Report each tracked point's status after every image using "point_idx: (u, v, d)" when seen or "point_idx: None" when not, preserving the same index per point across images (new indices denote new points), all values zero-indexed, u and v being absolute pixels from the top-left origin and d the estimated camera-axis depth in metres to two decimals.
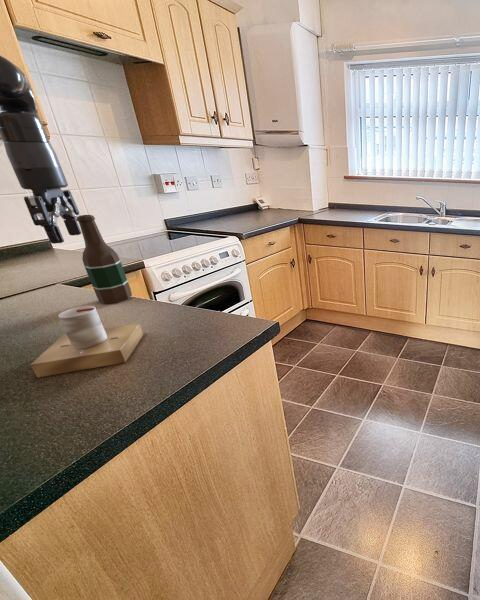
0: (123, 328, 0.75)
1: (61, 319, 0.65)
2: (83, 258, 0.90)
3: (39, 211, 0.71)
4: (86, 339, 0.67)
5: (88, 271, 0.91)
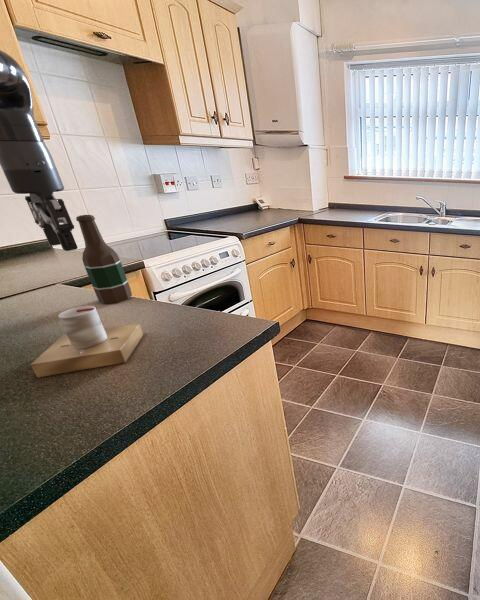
0: (123, 328, 0.75)
1: (61, 319, 0.65)
2: (83, 258, 0.90)
3: (64, 215, 0.67)
4: (86, 339, 0.67)
5: (88, 271, 0.91)
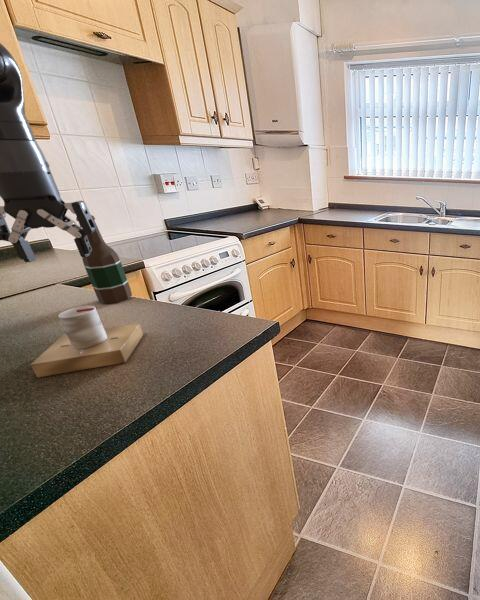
0: (123, 328, 0.75)
1: (61, 319, 0.65)
2: (83, 258, 0.90)
3: (89, 217, 0.65)
4: (86, 339, 0.67)
5: (88, 271, 0.91)
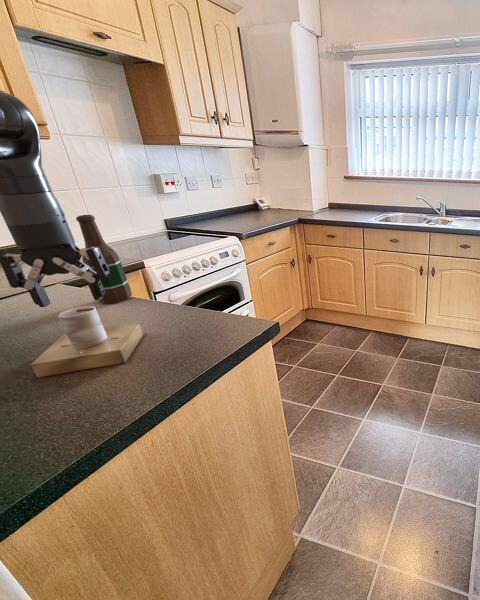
0: (123, 328, 0.75)
1: (61, 319, 0.65)
2: (83, 258, 0.90)
3: (103, 261, 0.66)
4: (86, 339, 0.67)
5: None
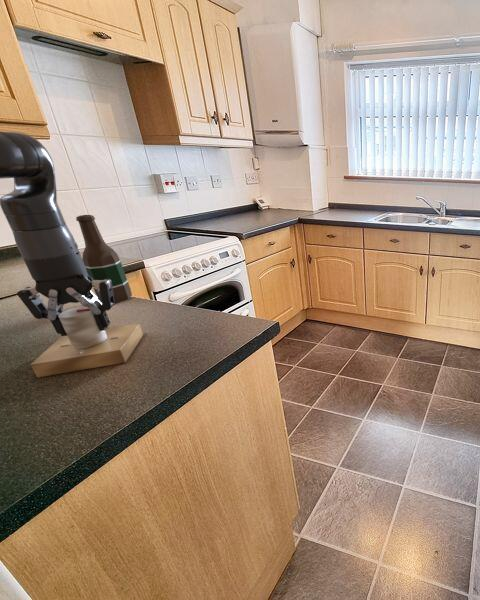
0: (123, 328, 0.75)
1: (61, 319, 0.65)
2: (83, 258, 0.90)
3: (111, 294, 0.68)
4: (86, 339, 0.67)
5: (88, 271, 0.91)
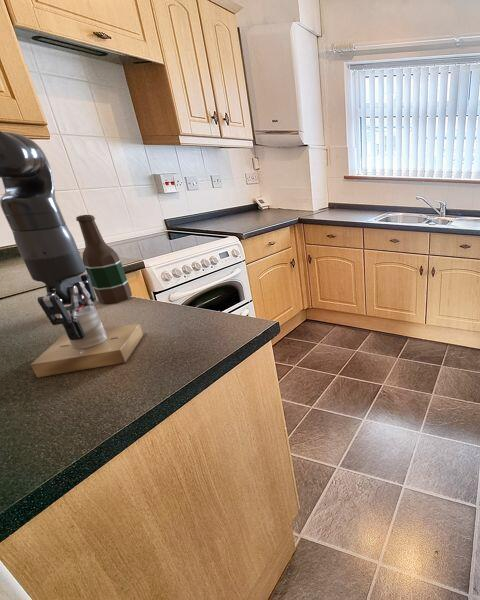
0: (123, 328, 0.75)
1: (87, 315, 0.66)
2: (83, 258, 0.90)
3: None
4: None
5: (88, 271, 0.91)
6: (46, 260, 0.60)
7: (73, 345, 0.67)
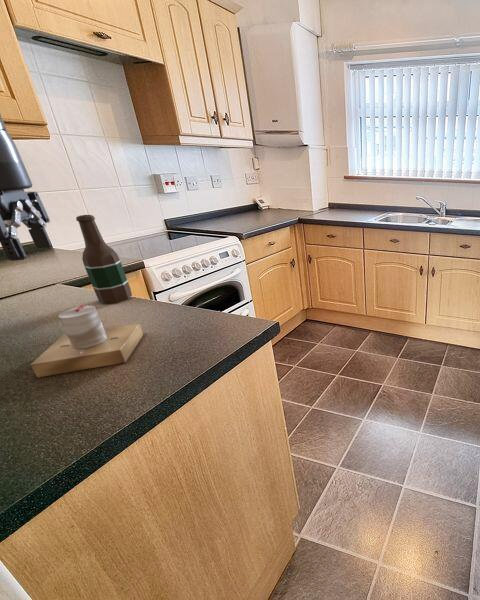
0: (123, 328, 0.75)
1: (87, 315, 0.66)
2: (83, 258, 0.90)
3: None
4: None
5: (88, 271, 0.91)
6: None
7: (73, 345, 0.67)
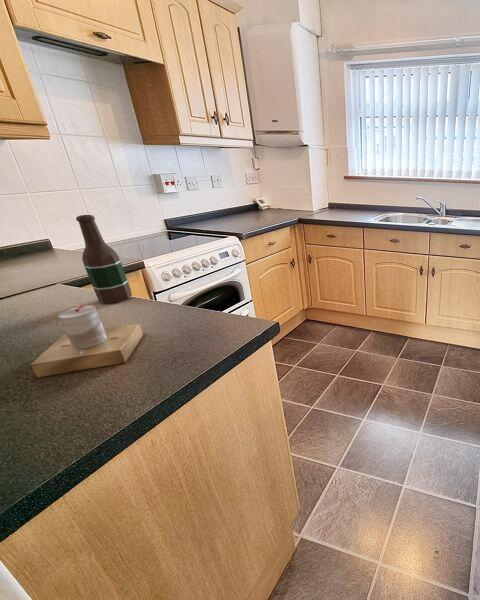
0: (123, 328, 0.75)
1: (87, 315, 0.66)
2: (83, 258, 0.90)
3: None
4: None
5: (88, 271, 0.91)
6: None
7: (73, 345, 0.67)
